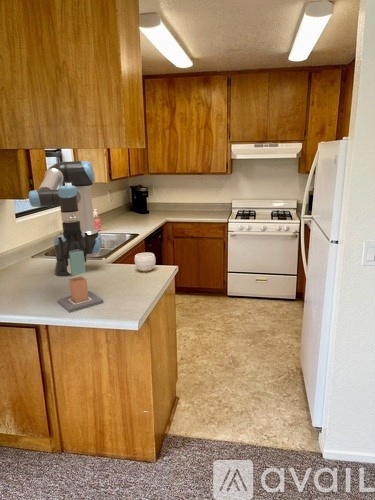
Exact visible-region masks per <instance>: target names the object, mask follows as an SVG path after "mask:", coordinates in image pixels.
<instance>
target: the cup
mask: <svg viewBox="0 0 375 500" xmlns="http://www.w3.org/2000/svg"><path fill="white" fill-rule="evenodd" d="M156 262H157V261H156V256H155V254H154V253H153V252H141V253H140V252H139V253H136V254H135V255H134V264H135V268H136V269H137V270H139V271H141V272H142V273H147V272H150V271H151V270H153V269H154V268H155V265H156Z"/></svg>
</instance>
